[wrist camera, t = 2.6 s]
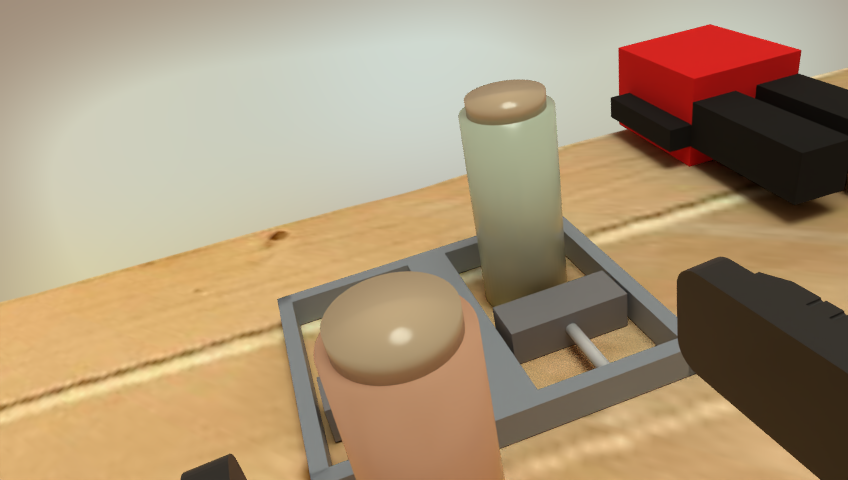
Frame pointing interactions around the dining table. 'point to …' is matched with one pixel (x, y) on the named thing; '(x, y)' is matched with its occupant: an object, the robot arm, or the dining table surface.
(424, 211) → the dining table surface
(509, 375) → the rack
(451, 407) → the terracotta jar
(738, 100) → the red and black block
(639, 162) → the dining table surface
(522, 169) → the green jar
